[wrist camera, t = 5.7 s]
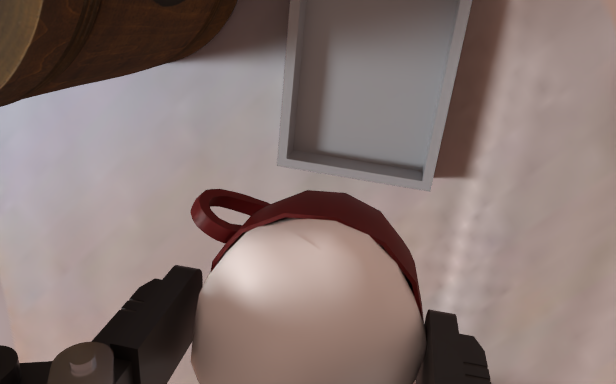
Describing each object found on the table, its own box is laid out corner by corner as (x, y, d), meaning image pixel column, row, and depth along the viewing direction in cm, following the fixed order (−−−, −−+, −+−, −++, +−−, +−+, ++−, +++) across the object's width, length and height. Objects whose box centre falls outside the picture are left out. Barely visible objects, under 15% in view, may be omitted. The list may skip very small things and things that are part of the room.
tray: (474, -33, 27) (480, -36, 25) (429, 177, 33) (430, 191, 30) (303, -51, 29) (294, -54, 27) (286, 154, 34) (276, 165, 32)
